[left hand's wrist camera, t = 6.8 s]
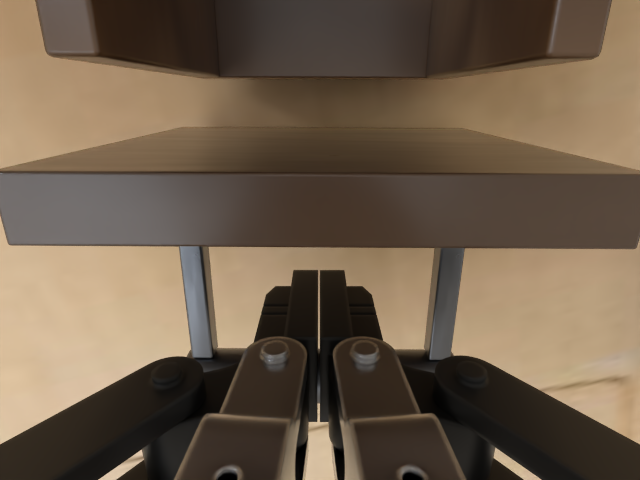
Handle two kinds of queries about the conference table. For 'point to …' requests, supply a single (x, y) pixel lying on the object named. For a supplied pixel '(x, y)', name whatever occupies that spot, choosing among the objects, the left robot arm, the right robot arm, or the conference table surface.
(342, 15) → the drawer
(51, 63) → the conference table surface
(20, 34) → the conference table surface
